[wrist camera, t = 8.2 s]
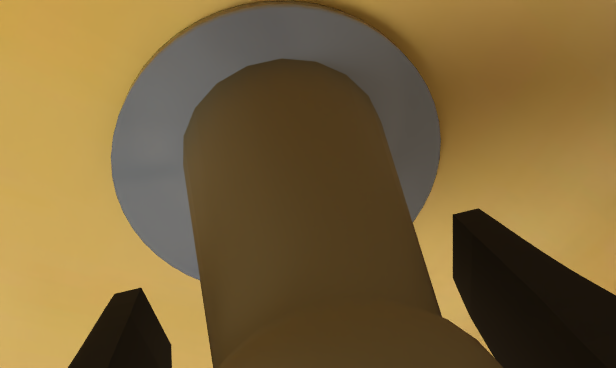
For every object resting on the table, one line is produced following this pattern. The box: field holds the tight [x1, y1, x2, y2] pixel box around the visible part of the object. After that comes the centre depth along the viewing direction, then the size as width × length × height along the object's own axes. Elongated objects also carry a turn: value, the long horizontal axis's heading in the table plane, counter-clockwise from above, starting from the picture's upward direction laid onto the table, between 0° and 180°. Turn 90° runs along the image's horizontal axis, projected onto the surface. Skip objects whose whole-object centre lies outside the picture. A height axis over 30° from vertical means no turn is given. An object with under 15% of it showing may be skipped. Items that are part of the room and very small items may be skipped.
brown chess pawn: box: [183, 58, 503, 368], centre depth 10 cm, size 6×6×11 cm
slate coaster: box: [111, 1, 441, 280], centre depth 16 cm, size 10×10×1 cm
